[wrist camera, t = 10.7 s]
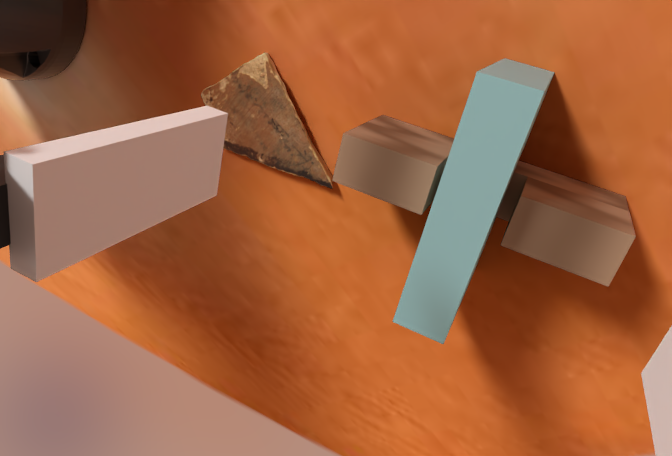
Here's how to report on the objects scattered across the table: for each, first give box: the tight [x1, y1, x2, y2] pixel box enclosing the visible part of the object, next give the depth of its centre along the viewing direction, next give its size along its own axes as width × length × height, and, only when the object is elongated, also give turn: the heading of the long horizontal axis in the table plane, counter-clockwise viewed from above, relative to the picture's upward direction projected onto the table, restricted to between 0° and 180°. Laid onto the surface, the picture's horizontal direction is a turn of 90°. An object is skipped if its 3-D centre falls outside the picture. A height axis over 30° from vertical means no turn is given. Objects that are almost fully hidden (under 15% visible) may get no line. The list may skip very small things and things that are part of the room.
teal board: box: [393, 58, 554, 344], centre depth 30 cm, size 14×3×10 cm, turn 166°
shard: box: [201, 53, 333, 189], centre depth 40 cm, size 11×8×2 cm
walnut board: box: [332, 115, 636, 286], centre depth 32 cm, size 16×3×7 cm, turn 76°
